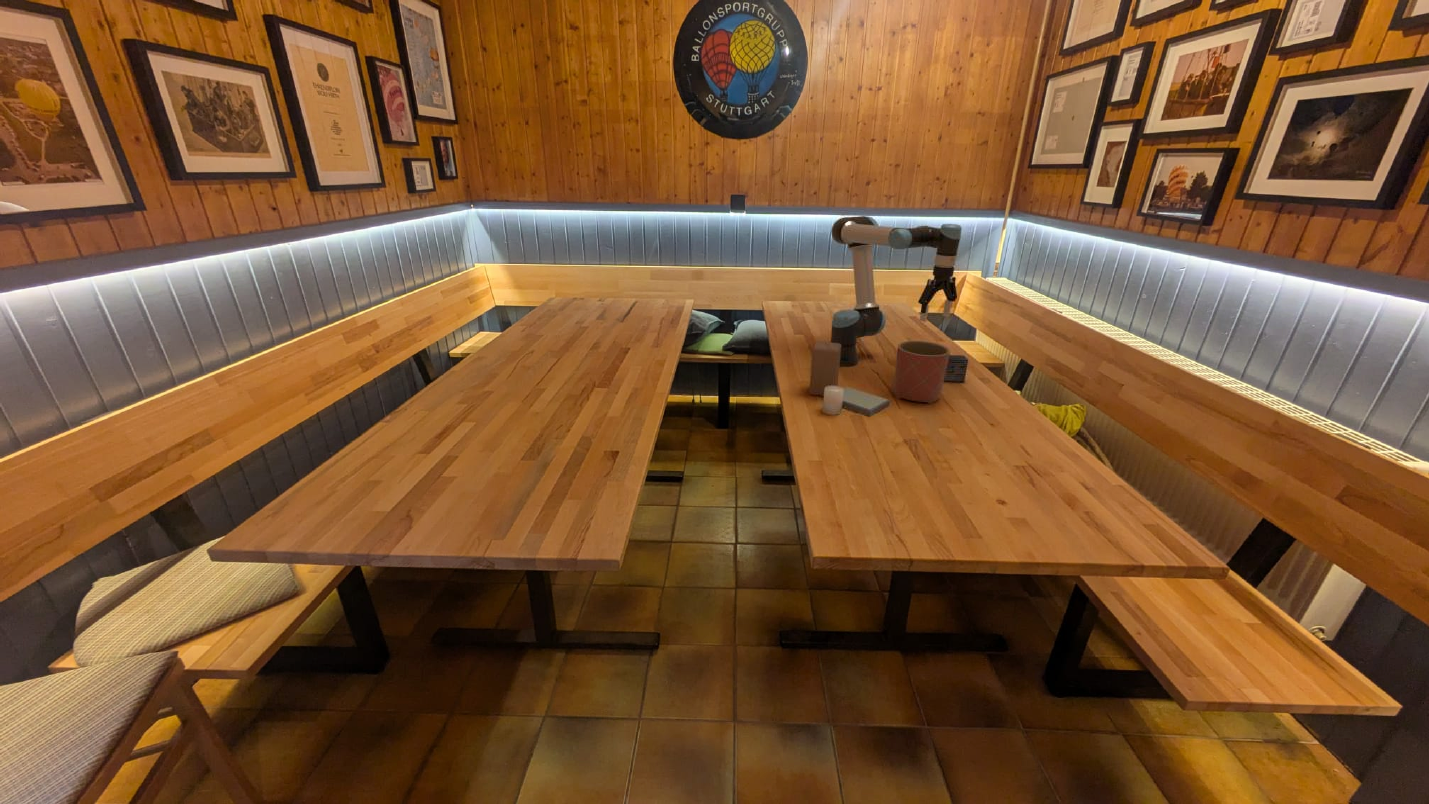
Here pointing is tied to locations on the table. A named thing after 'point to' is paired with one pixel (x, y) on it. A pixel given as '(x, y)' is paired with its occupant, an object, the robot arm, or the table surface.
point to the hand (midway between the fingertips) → (934, 318)
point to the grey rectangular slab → (863, 402)
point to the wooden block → (824, 367)
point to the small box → (956, 369)
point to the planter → (920, 370)
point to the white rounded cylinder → (833, 399)
